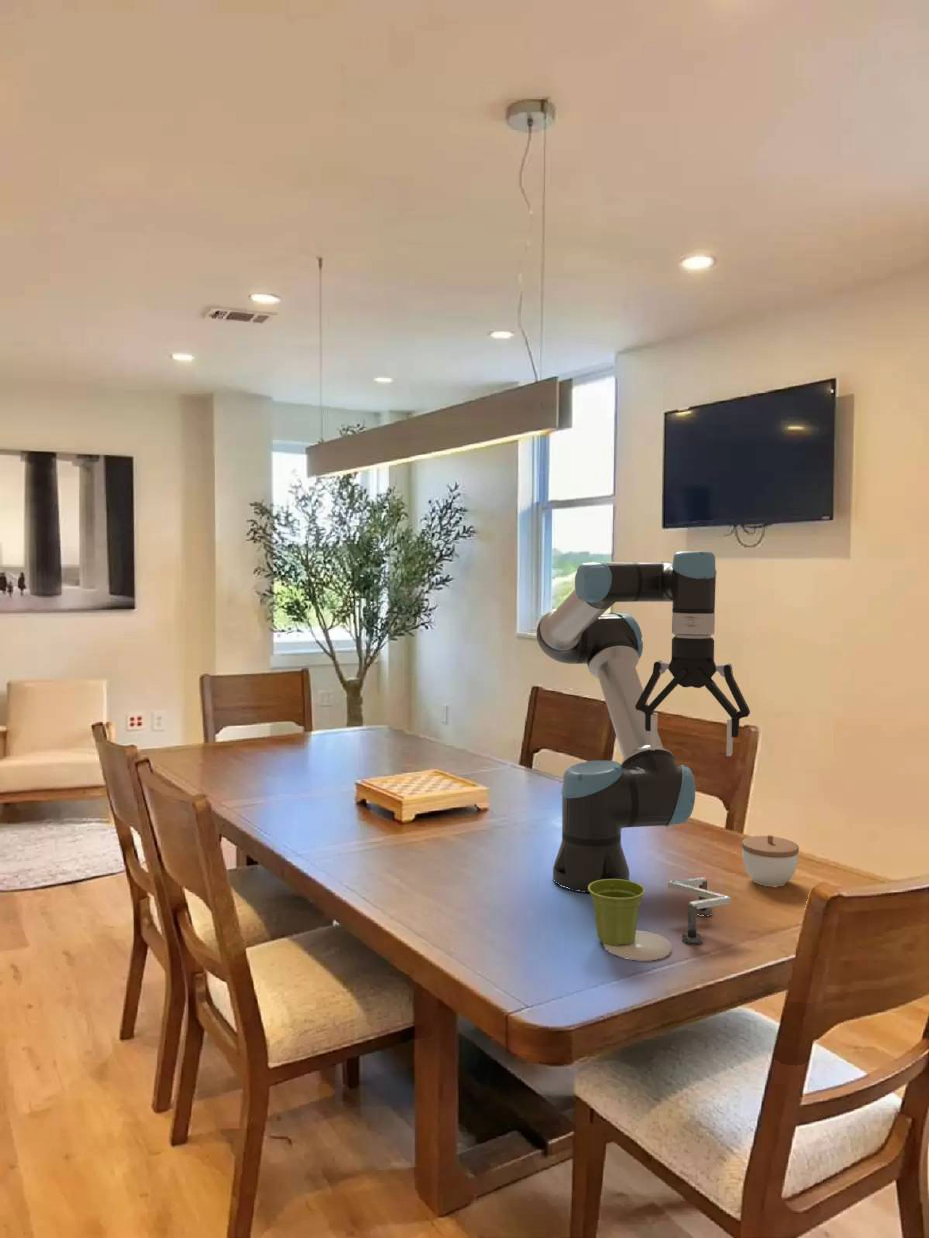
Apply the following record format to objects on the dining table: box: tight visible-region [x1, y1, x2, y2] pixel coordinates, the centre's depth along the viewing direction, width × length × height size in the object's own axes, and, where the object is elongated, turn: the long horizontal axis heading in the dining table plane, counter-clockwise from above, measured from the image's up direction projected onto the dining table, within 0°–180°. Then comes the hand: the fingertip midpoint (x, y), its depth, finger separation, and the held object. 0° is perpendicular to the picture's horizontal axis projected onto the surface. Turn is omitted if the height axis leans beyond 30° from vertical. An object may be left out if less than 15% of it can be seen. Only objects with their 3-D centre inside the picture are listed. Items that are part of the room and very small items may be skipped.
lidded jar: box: [741, 834, 800, 887], centre depth 181 cm, size 11×11×9 cm
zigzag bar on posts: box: [667, 876, 732, 945], centre depth 158 cm, size 11×16×7 cm
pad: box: [602, 929, 672, 962], centre depth 150 cm, size 11×11×1 cm
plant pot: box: [588, 879, 646, 945], centre depth 151 cm, size 9×9×9 cm
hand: (690, 751), depth 167 cm, fingers open, 13 cm apart
